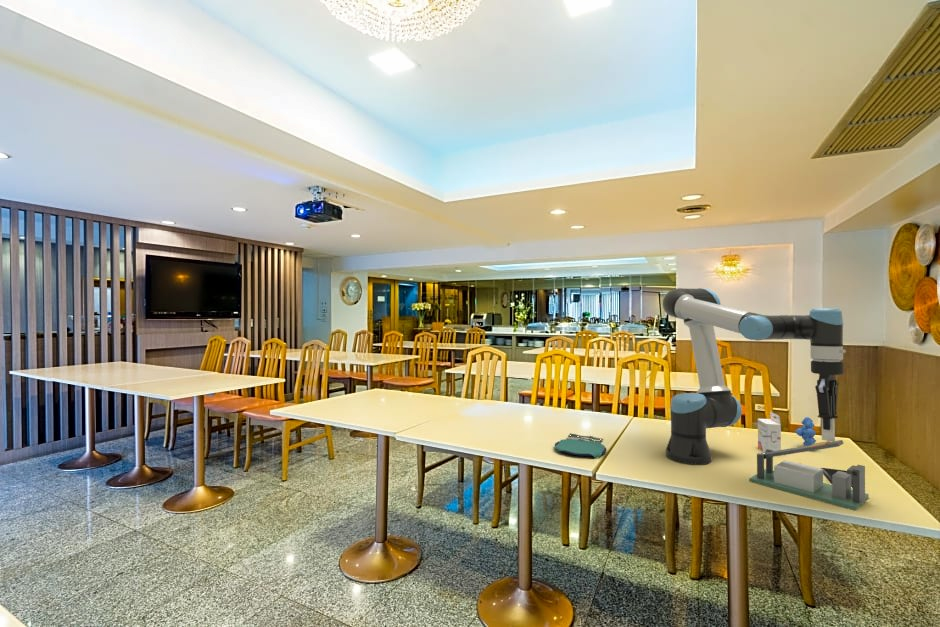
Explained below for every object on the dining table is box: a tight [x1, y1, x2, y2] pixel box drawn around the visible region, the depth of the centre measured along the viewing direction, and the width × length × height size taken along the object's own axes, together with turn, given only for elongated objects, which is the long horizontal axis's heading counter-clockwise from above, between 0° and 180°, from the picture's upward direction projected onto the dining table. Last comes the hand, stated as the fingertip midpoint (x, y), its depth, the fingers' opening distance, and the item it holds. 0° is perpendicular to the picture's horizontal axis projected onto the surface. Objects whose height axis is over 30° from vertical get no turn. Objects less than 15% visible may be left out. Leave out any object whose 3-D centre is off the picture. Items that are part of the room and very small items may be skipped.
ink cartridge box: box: [757, 411, 782, 452], centre depth 170 cm, size 9×5×15 cm, turn 168°
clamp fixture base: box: [748, 449, 870, 511], centre depth 133 cm, size 26×14×10 cm, turn 37°
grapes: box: [795, 416, 817, 446], centre depth 175 cm, size 12×7×12 cm, turn 153°
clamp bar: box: [760, 439, 844, 460], centre depth 135 cm, size 22×5×2 cm, turn 37°
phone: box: [820, 467, 853, 489], centre depth 142 cm, size 8×1×15 cm
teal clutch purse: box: [554, 432, 608, 459], centre depth 176 cm, size 20×30×2 cm, turn 156°
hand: (828, 440), depth 129 cm, fingers closed
